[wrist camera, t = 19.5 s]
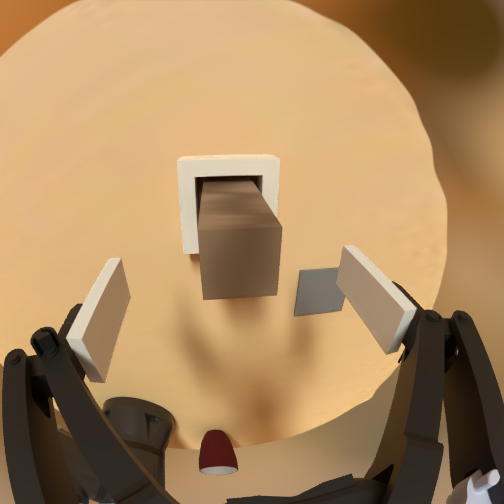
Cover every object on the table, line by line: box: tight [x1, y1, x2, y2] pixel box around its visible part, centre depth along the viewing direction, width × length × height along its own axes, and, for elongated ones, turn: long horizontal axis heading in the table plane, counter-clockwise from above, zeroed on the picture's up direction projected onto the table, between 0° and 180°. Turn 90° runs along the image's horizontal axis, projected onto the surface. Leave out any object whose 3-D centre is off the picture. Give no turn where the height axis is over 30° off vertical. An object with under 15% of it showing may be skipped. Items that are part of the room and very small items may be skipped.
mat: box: [294, 268, 345, 316], centre depth 34 cm, size 7×7×1 cm
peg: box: [197, 176, 282, 300], centre depth 21 cm, size 4×4×14 cm
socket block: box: [177, 155, 280, 254], centre depth 26 cm, size 9×9×3 cm
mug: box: [199, 430, 238, 475], centre depth 46 cm, size 11×8×10 cm
